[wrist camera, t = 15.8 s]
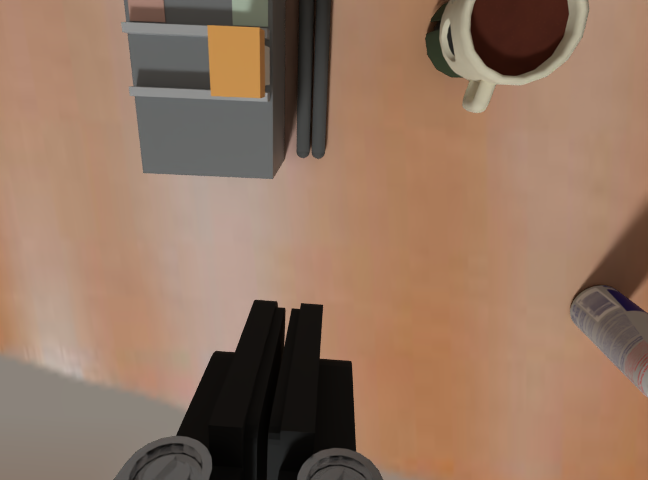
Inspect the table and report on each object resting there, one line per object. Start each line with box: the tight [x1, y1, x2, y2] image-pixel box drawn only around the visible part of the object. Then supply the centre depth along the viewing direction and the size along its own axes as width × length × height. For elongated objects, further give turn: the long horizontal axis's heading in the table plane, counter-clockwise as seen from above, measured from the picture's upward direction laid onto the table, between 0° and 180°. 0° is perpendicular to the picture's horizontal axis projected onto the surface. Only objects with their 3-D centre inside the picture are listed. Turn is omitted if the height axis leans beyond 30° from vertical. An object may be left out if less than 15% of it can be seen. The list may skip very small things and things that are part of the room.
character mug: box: [425, 0, 589, 113], centre depth 30 cm, size 11×7×13 cm, turn 165°
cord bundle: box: [297, 0, 331, 159], centre depth 37 cm, size 15×3×1 cm, turn 178°
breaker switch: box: [207, 25, 270, 98], centre depth 26 cm, size 4×3×7 cm
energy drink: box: [570, 285, 648, 397], centre depth 39 cm, size 5×5×12 cm
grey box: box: [121, 0, 285, 179], centre depth 33 cm, size 16×10×9 cm, turn 178°
